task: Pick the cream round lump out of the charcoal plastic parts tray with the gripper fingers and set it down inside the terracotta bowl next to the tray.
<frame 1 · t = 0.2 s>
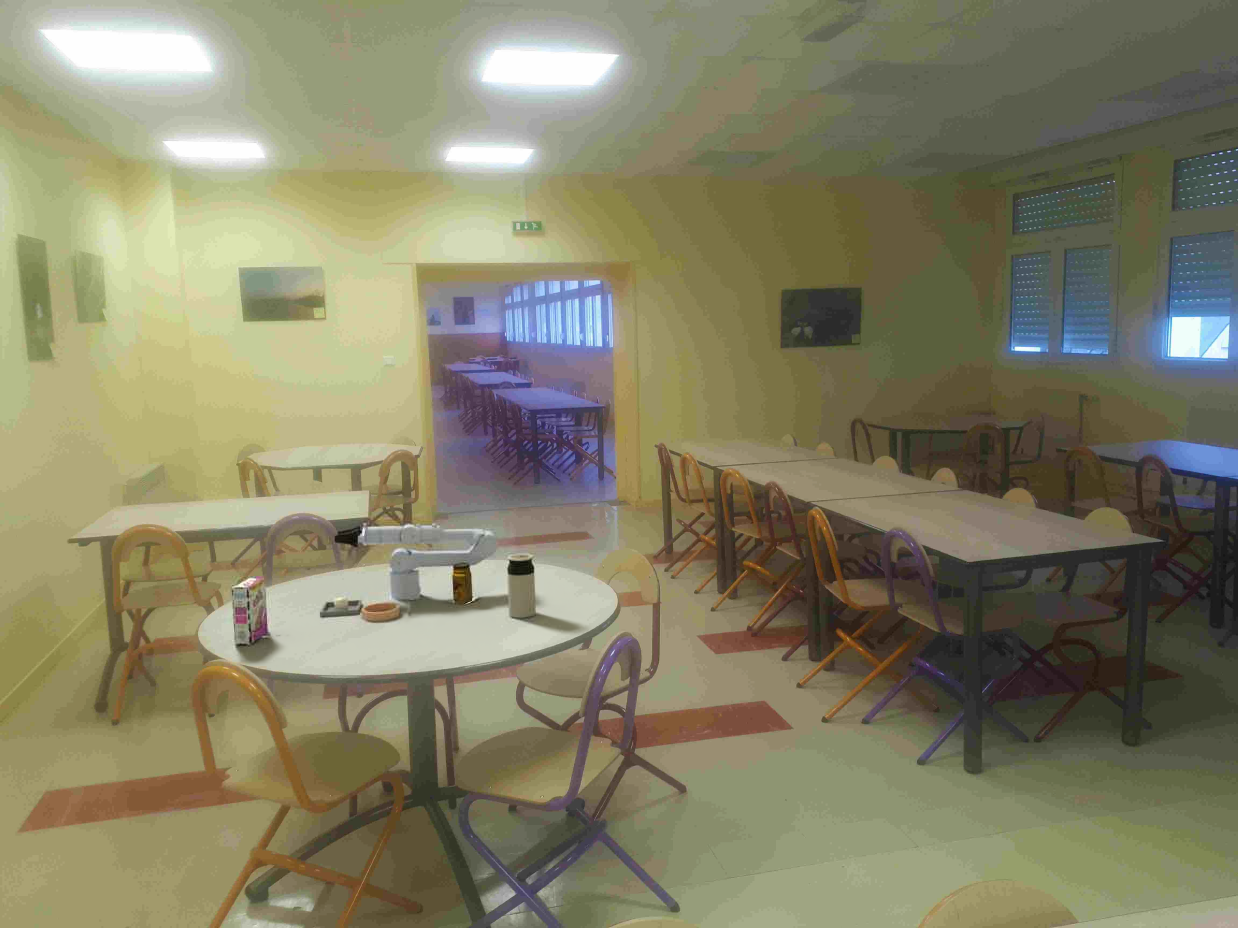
hand: (336, 536, 282), 21 cm above the table, tool horizontal, fingers open, 7 cm apart
candy bar box: (252, 639, 250), on the table
condiment: (464, 601, 284), on the table
cream round lump: (341, 610, 274), point 1 cm above the table, touching parts tray
travel mug: (522, 615, 268), on the table
bowl: (380, 617, 268), on the table
parts tray: (341, 612, 274), on the table
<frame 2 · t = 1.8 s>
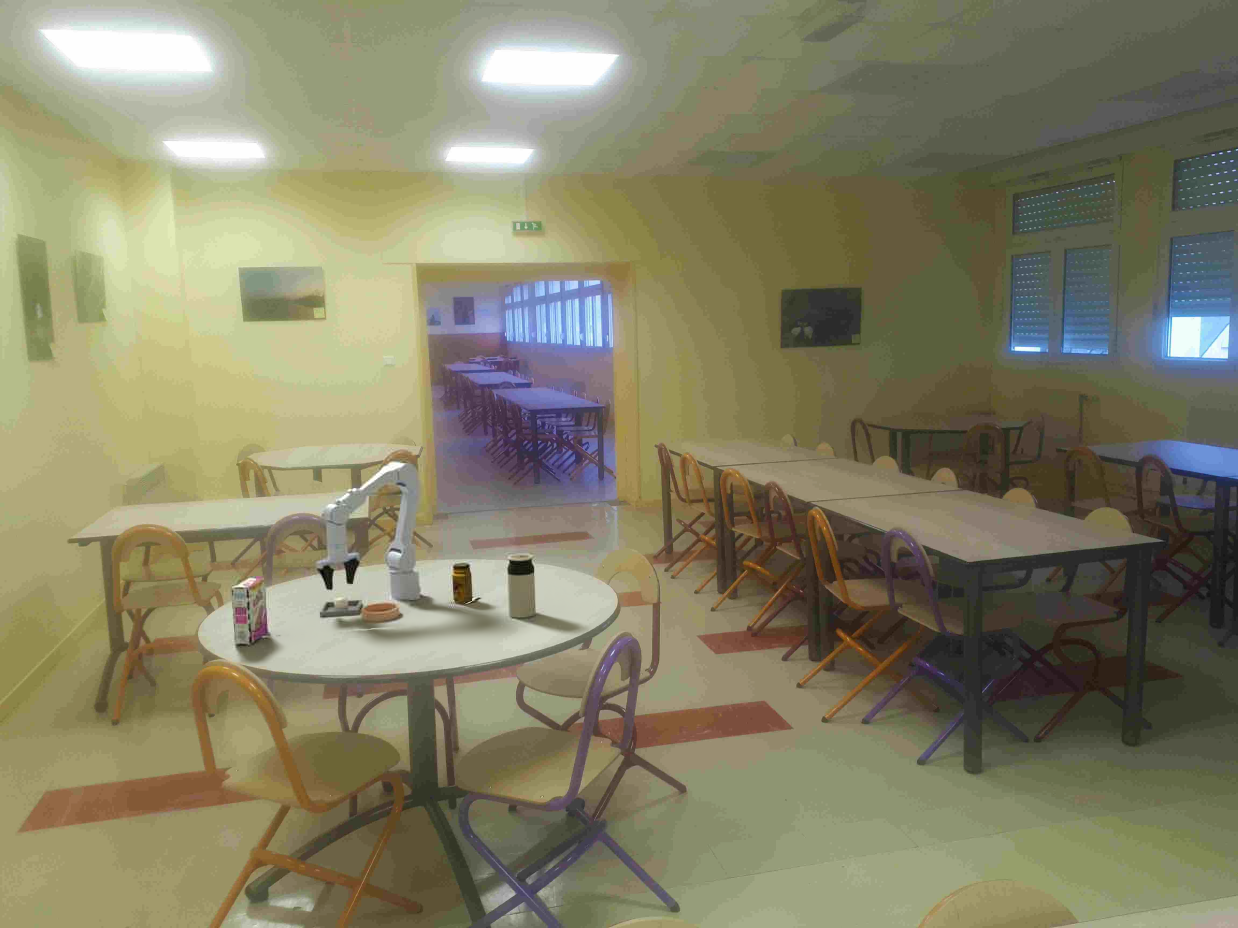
hand: (339, 586, 273), 8 cm above the table, tool pointing down, fingers open, 7 cm apart
nothing on the table moved.
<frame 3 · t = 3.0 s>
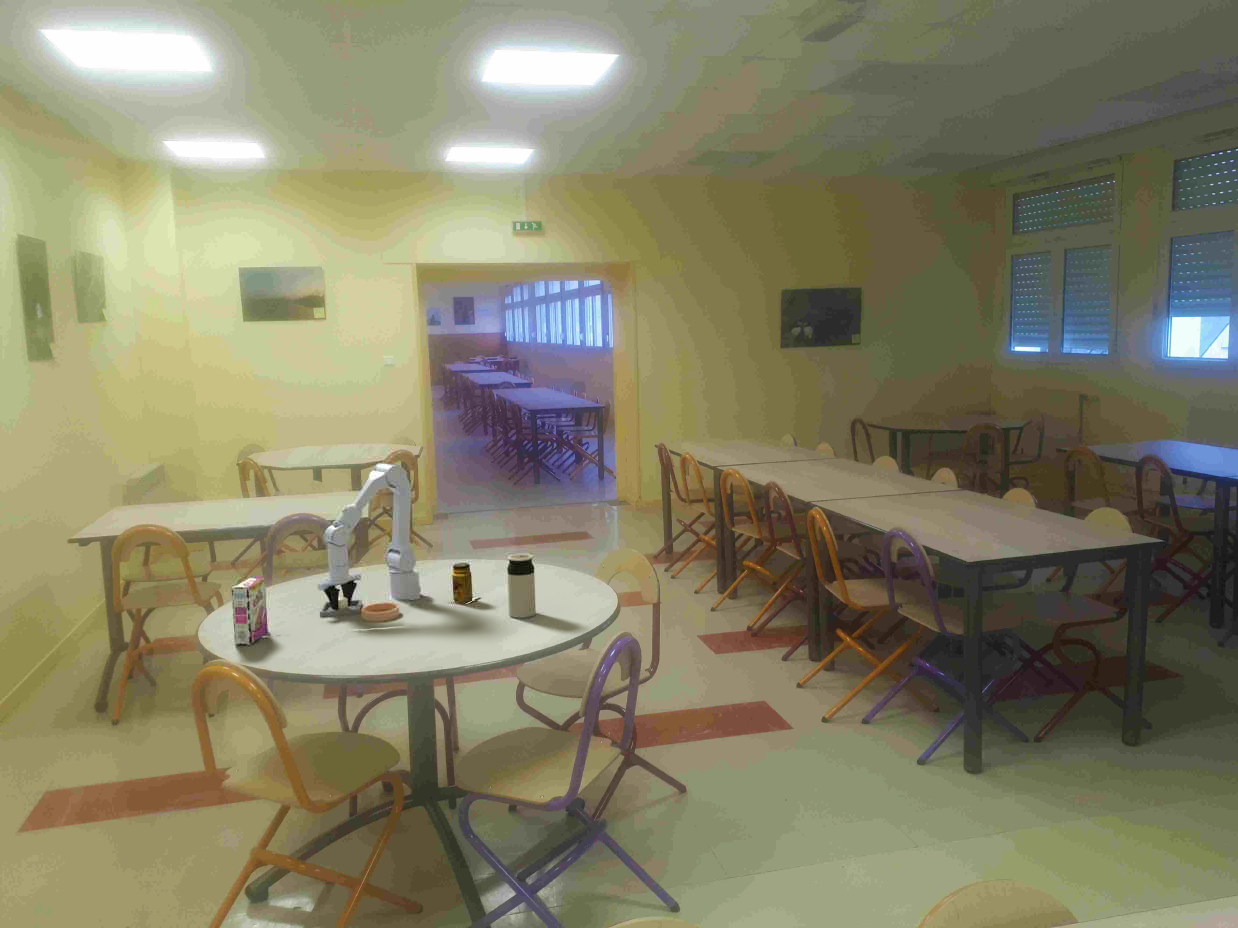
hand: (341, 607, 274), 1 cm above the table, tool pointing down, fingers closed on cream round lump, 4 cm apart
cream round lump: (341, 610, 274), point 1 cm above the table, touching gripper, parts tray
everything else where it was.
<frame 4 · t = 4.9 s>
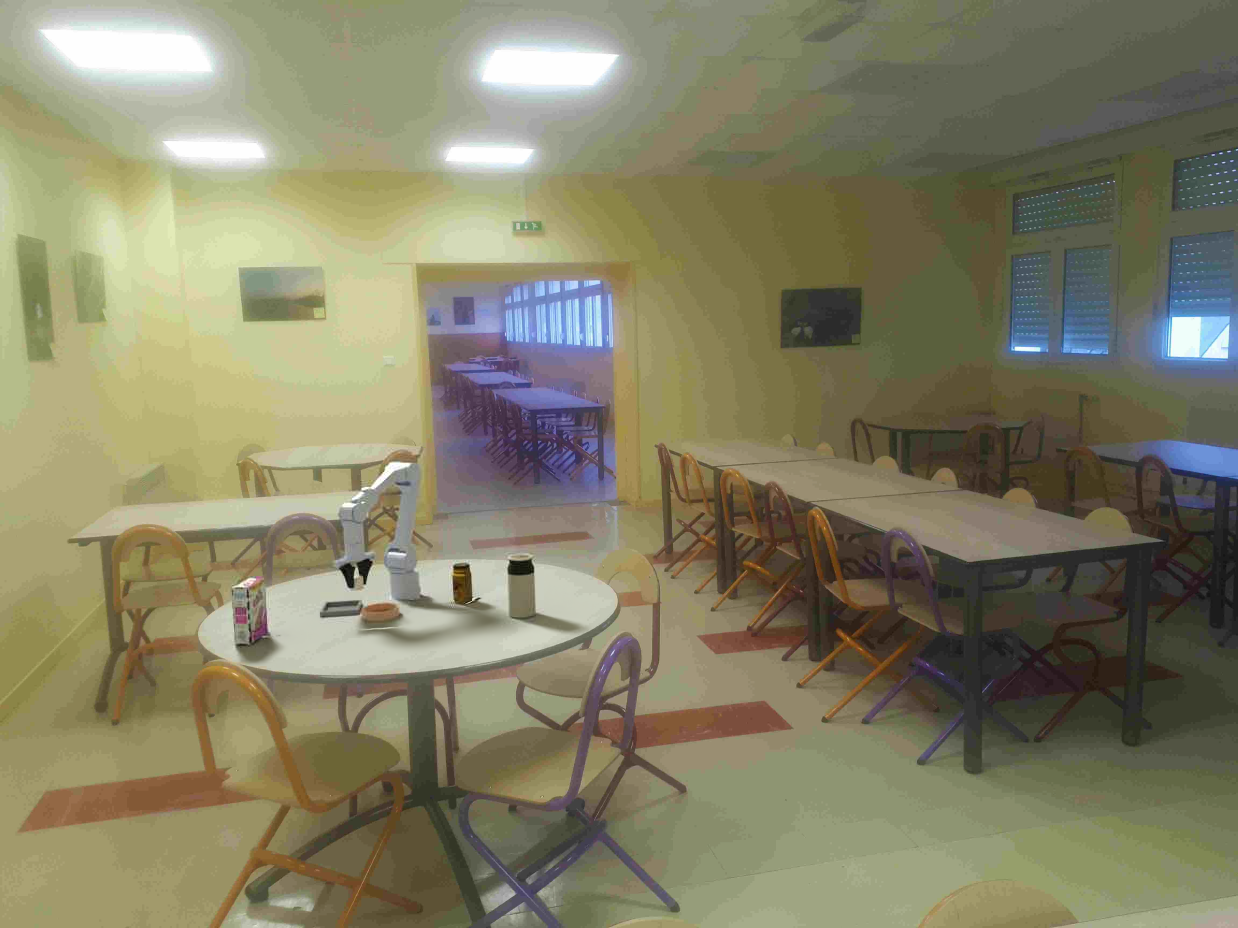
hand: (357, 585, 270), 9 cm above the table, tool pointing down, fingers closed on cream round lump, 4 cm apart
cream round lump: (357, 588, 270), point 8 cm above the table, touching gripper
everything else where it was.
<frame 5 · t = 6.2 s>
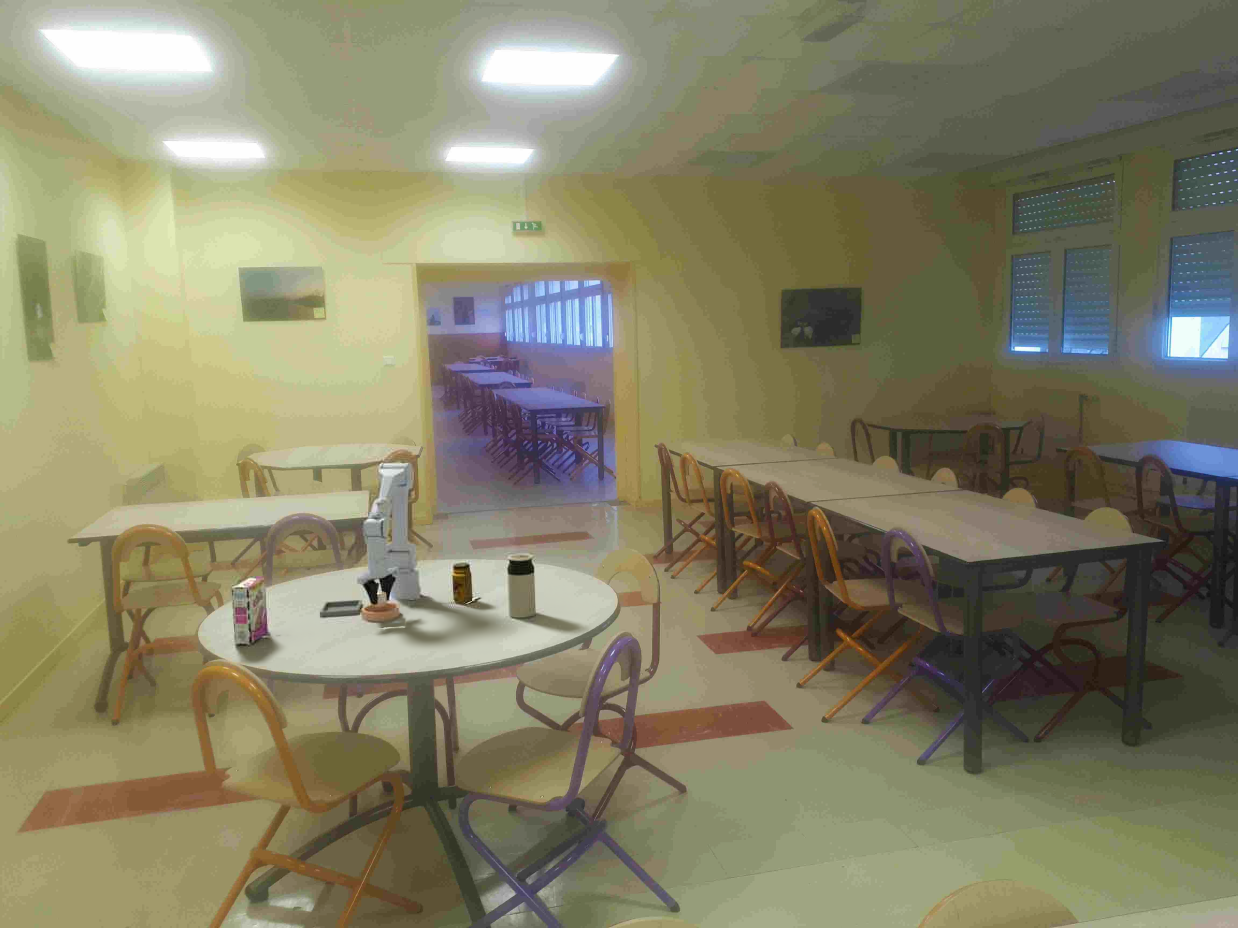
hand: (380, 602, 267), 5 cm above the table, tool pointing down, fingers closed on cream round lump, 4 cm apart
cream round lump: (380, 604, 267), point 4 cm above the table, touching gripper
everything else where it was.
when the fingers open (3 cm above the table, at t = 6.9 s): cream round lump drops 1 cm, resting on bowl.
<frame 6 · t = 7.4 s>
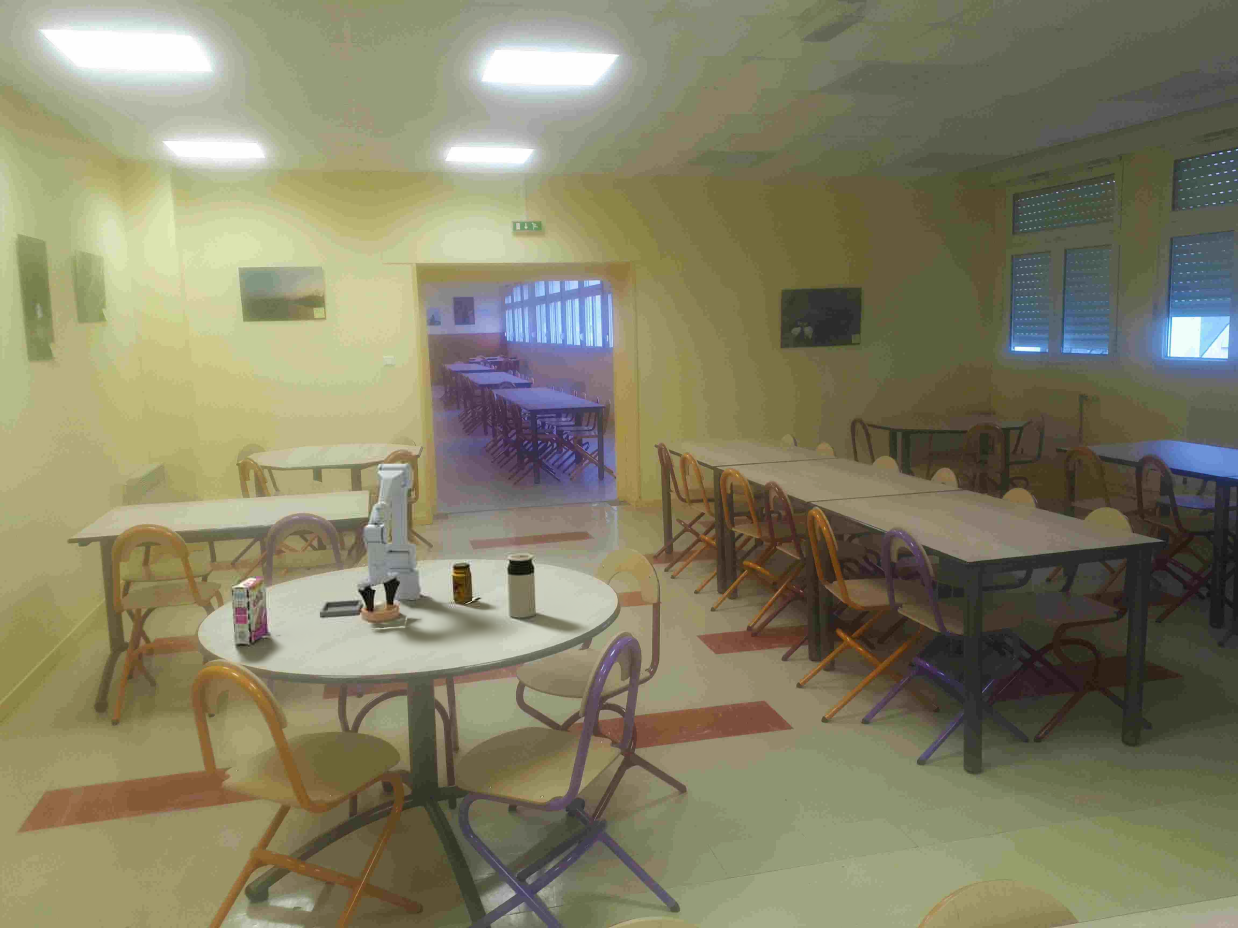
hand: (380, 607, 267), 3 cm above the table, tool pointing down, fingers open, 7 cm apart
cream round lump: (380, 614, 268), point 1 cm above the table, touching bowl
everything else where it was.
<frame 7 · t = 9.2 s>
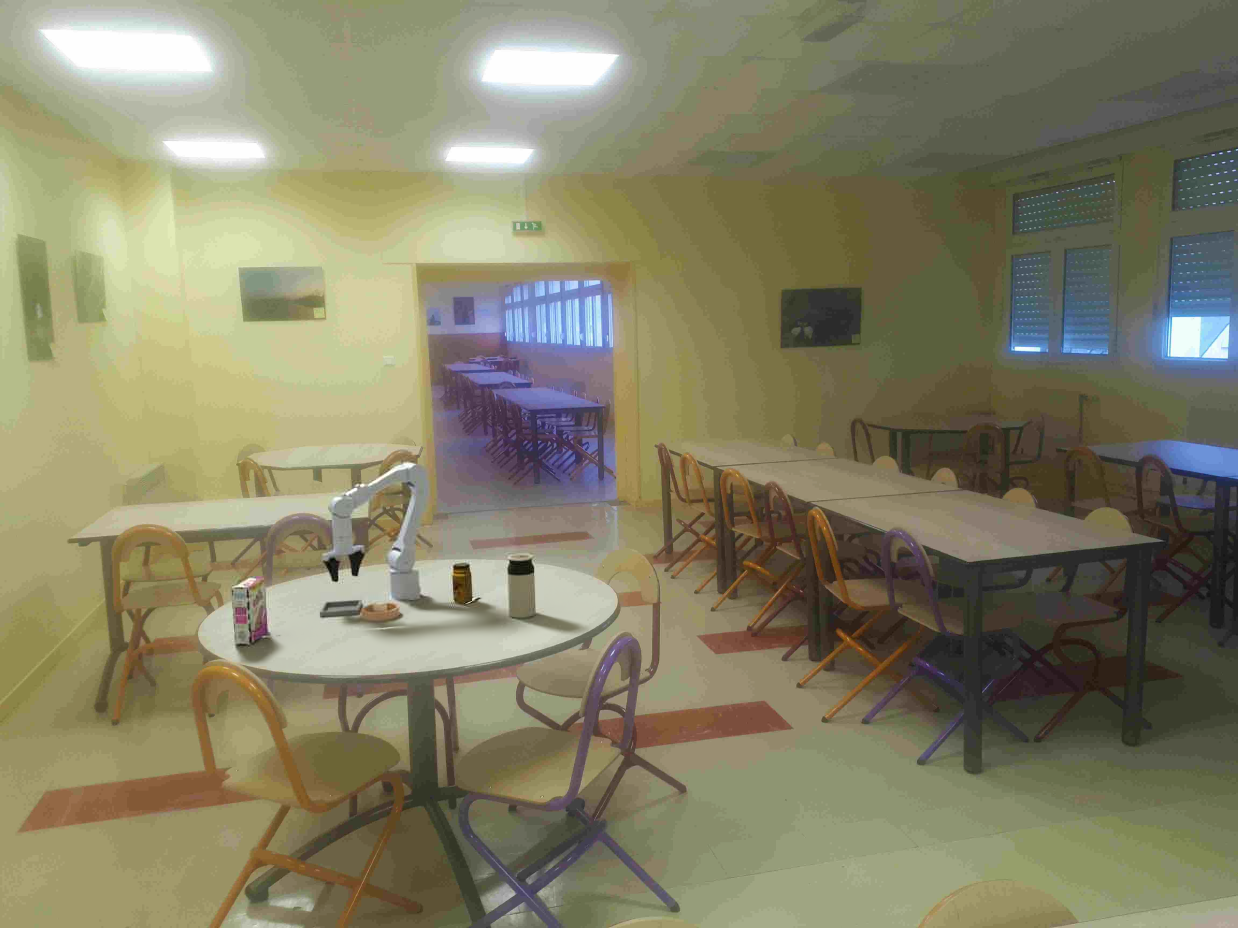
hand: (345, 578, 277), 9 cm above the table, tool pointing down, fingers open, 7 cm apart
nothing on the table moved.
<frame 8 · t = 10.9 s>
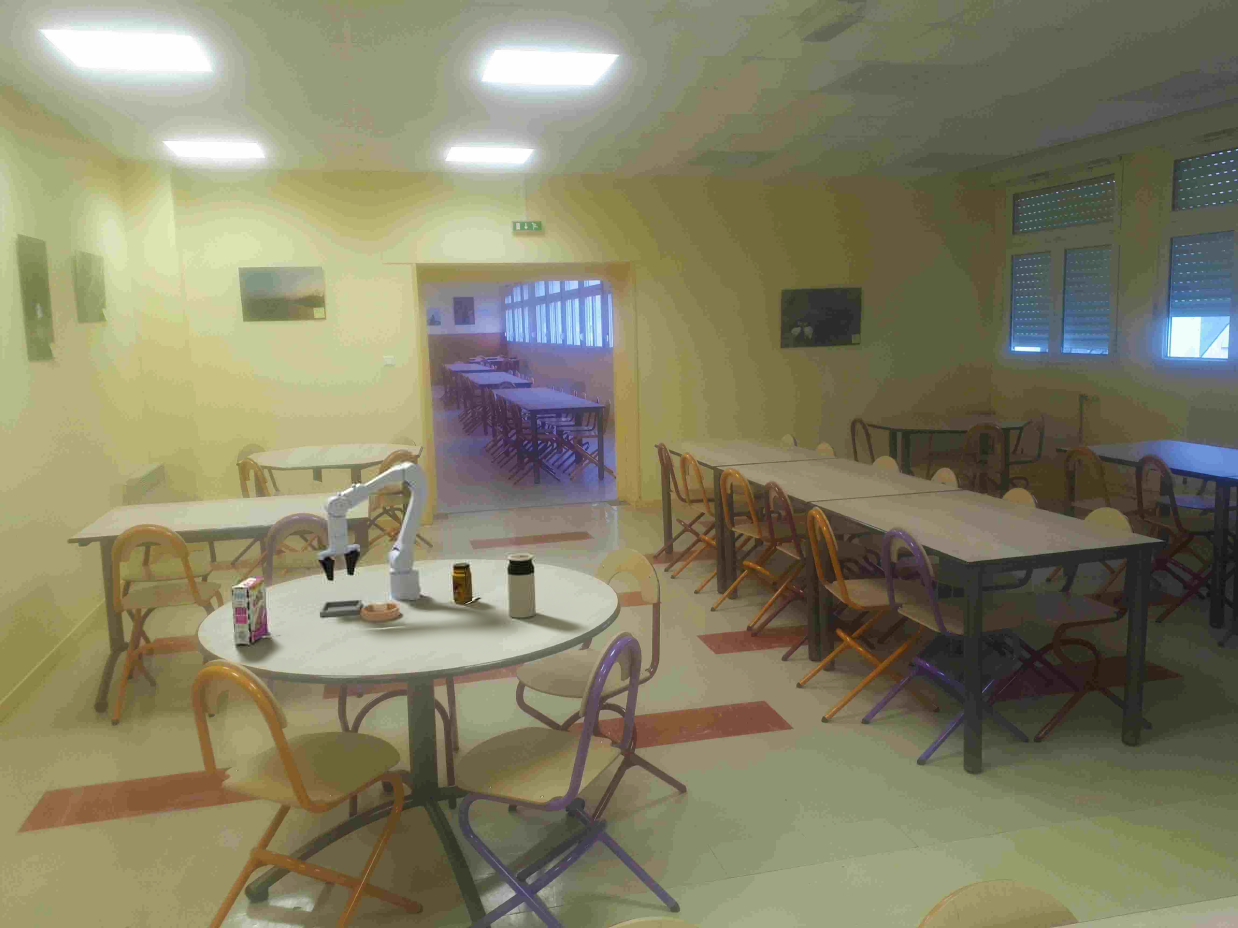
hand: (340, 577, 279), 9 cm above the table, tool pointing down, fingers open, 7 cm apart
nothing on the table moved.
at the end: cream round lump 0.1 cm off-centre on the bowl, point 0.8 cm above the bowl's base; the gripper is holding nothing; cream round lump moved 15.1 cm from its start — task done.
